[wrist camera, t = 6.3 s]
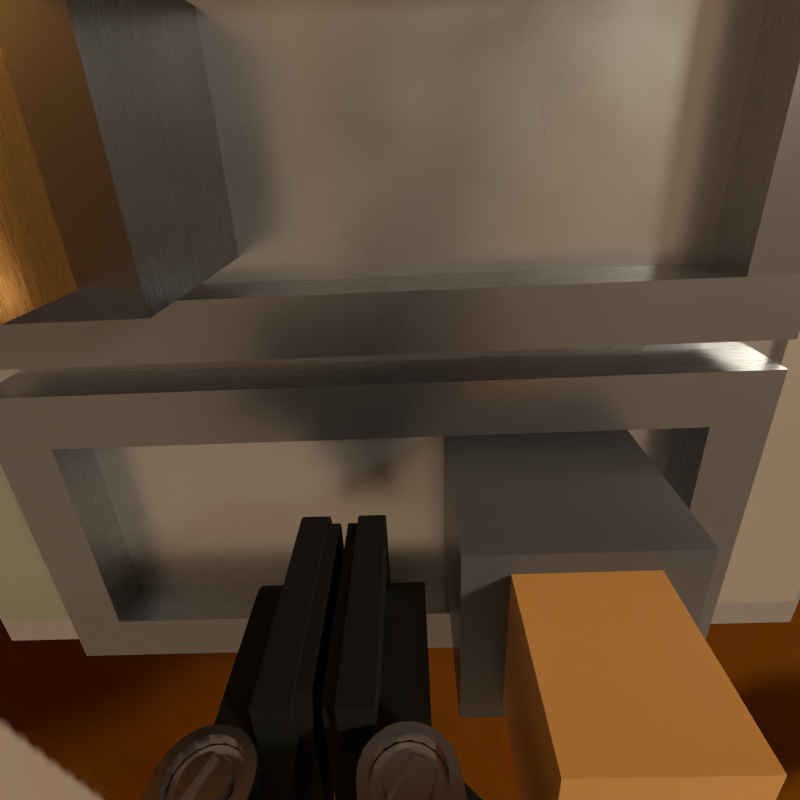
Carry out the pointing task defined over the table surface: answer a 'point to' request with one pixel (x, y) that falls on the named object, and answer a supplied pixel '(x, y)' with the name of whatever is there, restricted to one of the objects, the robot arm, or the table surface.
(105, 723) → the table surface
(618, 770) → the breaker toggle
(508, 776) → the table surface
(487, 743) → the table surface
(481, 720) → the table surface
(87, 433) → the breaker panel
